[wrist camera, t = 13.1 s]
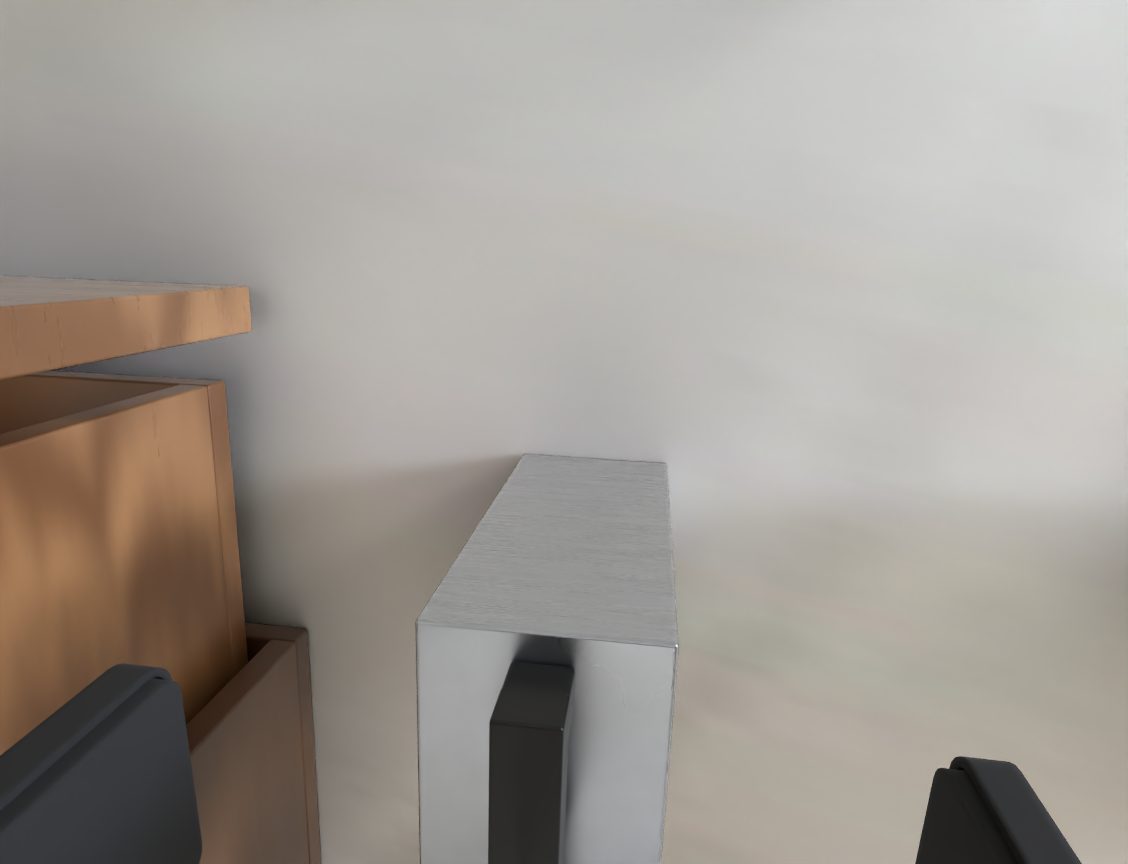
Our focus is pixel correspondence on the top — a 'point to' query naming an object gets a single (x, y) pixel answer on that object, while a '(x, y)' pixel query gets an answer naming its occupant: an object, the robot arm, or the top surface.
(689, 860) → the top surface
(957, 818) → the robot arm
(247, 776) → the cabinet
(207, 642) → the drawer
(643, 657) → the grater
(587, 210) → the top surface
